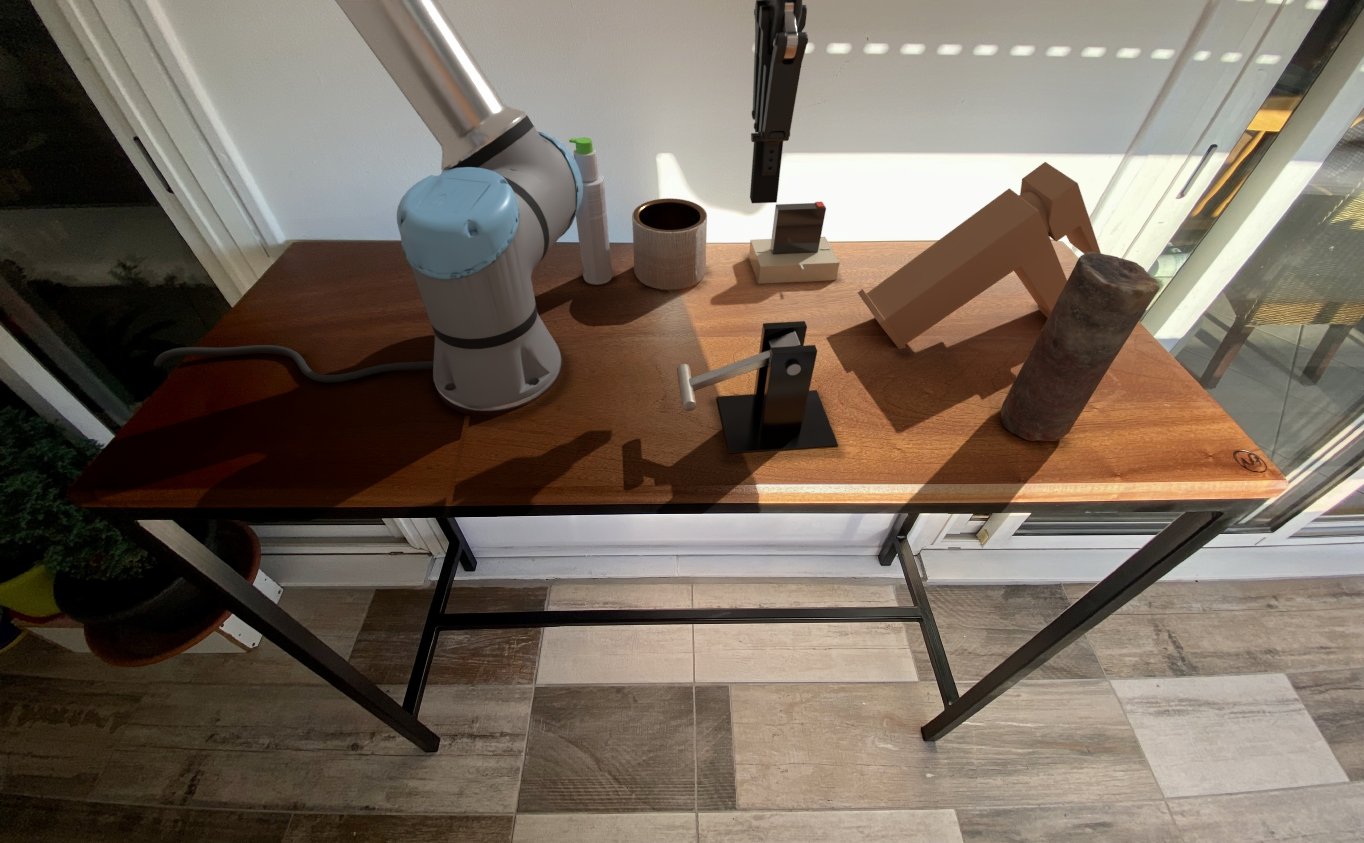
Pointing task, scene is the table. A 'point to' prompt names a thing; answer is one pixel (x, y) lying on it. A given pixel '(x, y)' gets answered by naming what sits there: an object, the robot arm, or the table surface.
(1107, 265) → the grey-brown thick cylinder
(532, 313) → the robot arm
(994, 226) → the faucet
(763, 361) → the tap lever
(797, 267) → the beige slotted base block
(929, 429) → the table surface
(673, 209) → the planter
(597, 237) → the bottle
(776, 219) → the red-tipped grey panel
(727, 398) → the bracket
